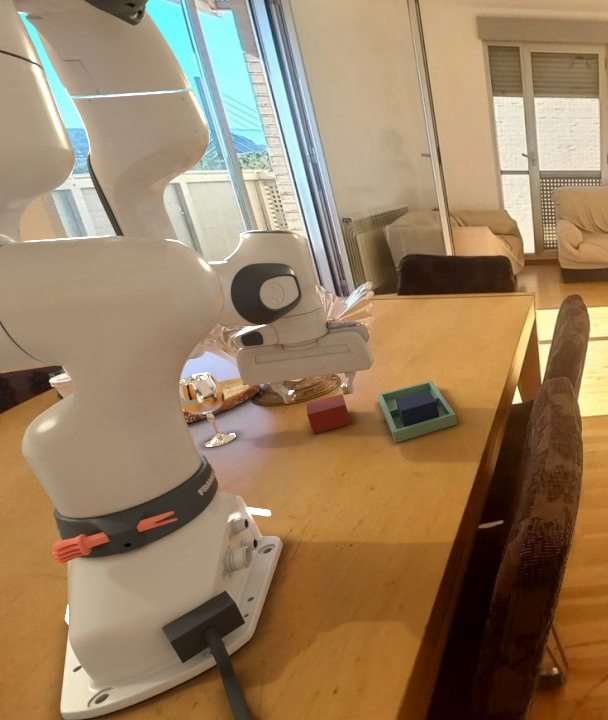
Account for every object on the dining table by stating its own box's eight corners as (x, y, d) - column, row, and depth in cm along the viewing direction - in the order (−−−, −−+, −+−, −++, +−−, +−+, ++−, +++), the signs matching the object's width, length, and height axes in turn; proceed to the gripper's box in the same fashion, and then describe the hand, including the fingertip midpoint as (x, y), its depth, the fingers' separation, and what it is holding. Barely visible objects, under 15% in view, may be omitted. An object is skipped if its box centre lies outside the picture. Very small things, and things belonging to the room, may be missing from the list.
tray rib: (439, 404, 93) (438, 397, 92) (391, 418, 88) (389, 411, 88) (439, 403, 93) (437, 396, 92) (391, 416, 89) (389, 409, 88)
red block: (350, 423, 88) (345, 404, 86) (313, 434, 85) (307, 414, 83) (347, 412, 92) (342, 393, 91) (312, 421, 89) (306, 402, 88)
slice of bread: (267, 383, 105) (262, 368, 104) (227, 423, 89) (219, 406, 88) (173, 394, 101) (166, 378, 100) (113, 438, 85) (103, 420, 84)
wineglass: (217, 450, 81) (190, 387, 76) (190, 447, 82) (162, 385, 77) (248, 432, 86) (224, 372, 81) (222, 430, 87) (197, 370, 82)
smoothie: (65, 426, 90) (27, 358, 85) (107, 409, 96) (74, 345, 90) (87, 430, 88) (49, 361, 83) (128, 413, 94) (95, 348, 88)
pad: (440, 420, 87) (436, 401, 85) (406, 430, 84) (401, 410, 82) (432, 408, 91) (429, 390, 90) (399, 417, 88) (395, 399, 87)
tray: (457, 424, 87) (455, 414, 86) (395, 443, 81) (392, 432, 81) (433, 389, 100) (431, 380, 99) (379, 403, 95) (377, 394, 94)
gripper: (367, 313, 87) (384, 381, 92) (236, 327, 81) (263, 399, 86) (361, 323, 81) (380, 395, 87) (220, 340, 75) (250, 415, 81)
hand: (320, 397), depth 87 cm, fingers open, 8 cm apart
